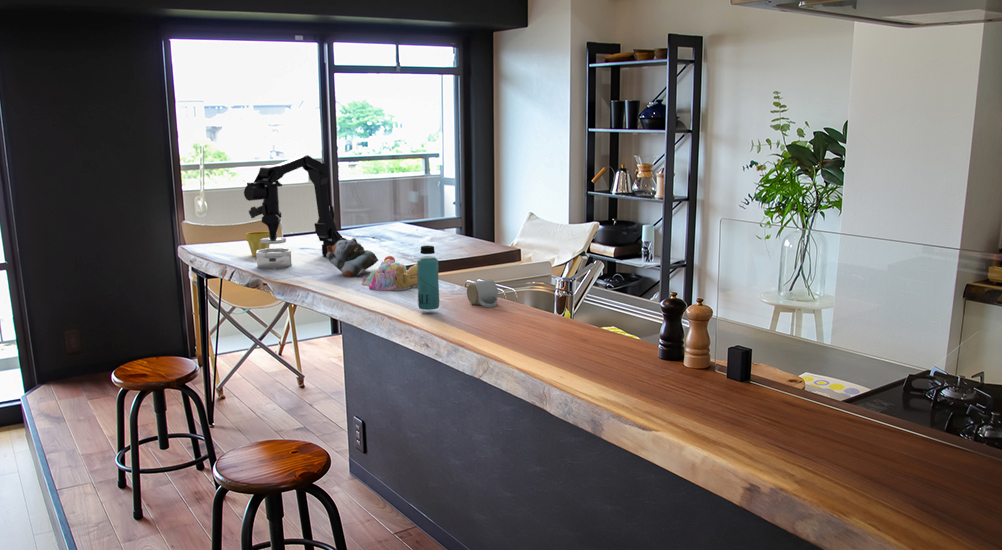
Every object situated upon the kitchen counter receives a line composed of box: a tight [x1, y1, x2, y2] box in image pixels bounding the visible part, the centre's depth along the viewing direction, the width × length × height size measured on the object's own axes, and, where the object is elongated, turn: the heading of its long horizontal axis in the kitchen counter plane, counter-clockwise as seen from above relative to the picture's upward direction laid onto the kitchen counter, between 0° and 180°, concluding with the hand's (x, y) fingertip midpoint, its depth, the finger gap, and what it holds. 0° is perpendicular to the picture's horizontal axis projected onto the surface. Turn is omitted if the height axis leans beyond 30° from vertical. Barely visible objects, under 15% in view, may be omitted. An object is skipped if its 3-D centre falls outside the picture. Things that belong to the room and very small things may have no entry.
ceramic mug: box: [466, 278, 499, 309], centre depth 231 cm, size 10×8×7 cm
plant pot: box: [245, 230, 271, 257], centre depth 321 cm, size 10×10×10 cm
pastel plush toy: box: [361, 255, 418, 292], centre depth 262 cm, size 25×24×9 cm
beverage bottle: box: [416, 245, 440, 311], centre depth 220 cm, size 6×7×20 cm
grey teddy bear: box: [326, 237, 379, 278], centre depth 280 cm, size 17×14×16 cm
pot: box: [255, 247, 293, 270], centre depth 296 cm, size 13×19×6 cm
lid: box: [260, 231, 287, 245], centre depth 294 cm, size 10×10×5 cm
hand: (273, 238), depth 294 cm, fingers closed on lid, 3 cm apart
